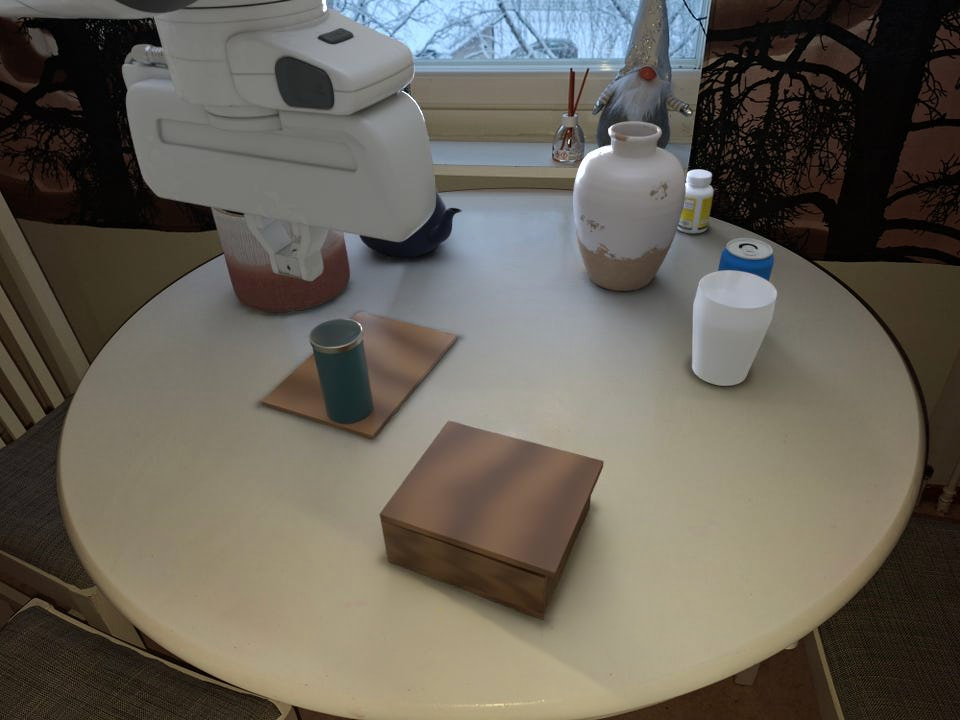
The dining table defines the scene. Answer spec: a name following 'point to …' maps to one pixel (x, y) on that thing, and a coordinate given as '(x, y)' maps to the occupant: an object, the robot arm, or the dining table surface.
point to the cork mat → (391, 367)
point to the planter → (256, 274)
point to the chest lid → (496, 496)
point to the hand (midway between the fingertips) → (299, 274)
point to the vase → (627, 206)
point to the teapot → (418, 235)
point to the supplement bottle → (696, 202)
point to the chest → (475, 569)
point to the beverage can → (748, 257)
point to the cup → (729, 324)
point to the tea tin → (342, 370)
